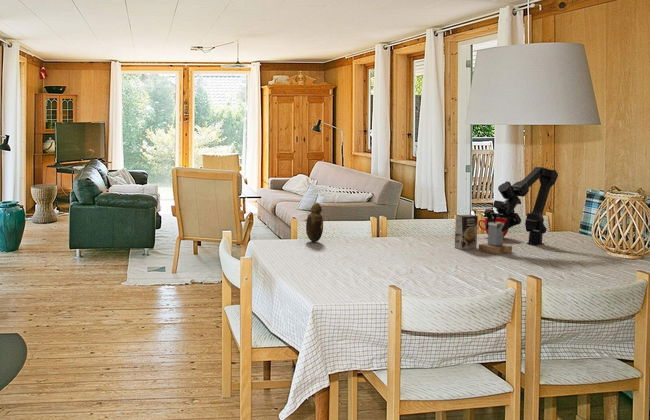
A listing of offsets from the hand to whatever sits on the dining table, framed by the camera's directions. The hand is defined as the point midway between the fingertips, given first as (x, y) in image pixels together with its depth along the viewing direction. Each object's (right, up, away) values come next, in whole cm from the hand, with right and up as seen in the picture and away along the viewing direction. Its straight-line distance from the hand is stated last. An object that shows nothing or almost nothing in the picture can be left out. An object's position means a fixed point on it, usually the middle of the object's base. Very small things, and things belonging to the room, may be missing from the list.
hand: (494, 230), depth 357 cm
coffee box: (-11, -9, +11) cm, 18 cm away
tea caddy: (+1, -7, +2) cm, 8 cm away
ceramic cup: (+9, -5, +41) cm, 42 cm away
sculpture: (-86, -7, +24) cm, 90 cm away
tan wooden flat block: (+1, -10, +2) cm, 11 cm away
